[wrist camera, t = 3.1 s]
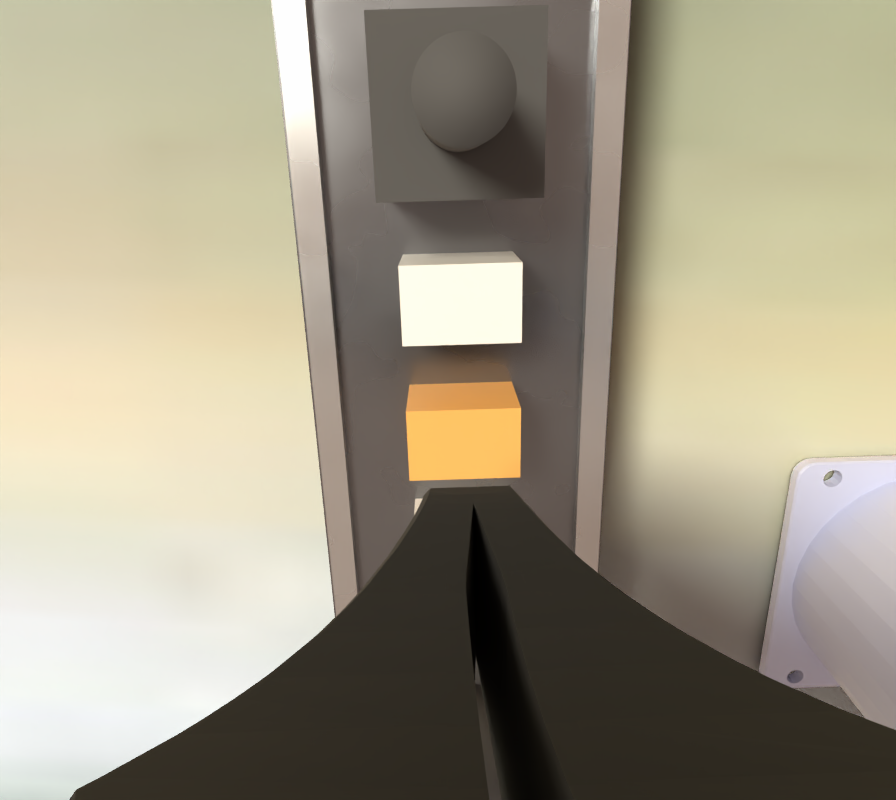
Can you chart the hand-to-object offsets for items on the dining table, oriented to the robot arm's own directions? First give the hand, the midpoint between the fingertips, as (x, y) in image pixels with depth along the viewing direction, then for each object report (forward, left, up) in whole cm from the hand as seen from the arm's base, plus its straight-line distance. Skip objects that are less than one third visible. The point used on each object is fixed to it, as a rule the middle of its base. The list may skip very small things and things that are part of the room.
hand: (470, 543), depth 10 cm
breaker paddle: (0, -3, -6) cm, 6 cm away
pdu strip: (0, 0, -8) cm, 8 cm away
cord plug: (0, -6, -6) cm, 9 cm away
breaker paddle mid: (0, 0, -6) cm, 6 cm away
